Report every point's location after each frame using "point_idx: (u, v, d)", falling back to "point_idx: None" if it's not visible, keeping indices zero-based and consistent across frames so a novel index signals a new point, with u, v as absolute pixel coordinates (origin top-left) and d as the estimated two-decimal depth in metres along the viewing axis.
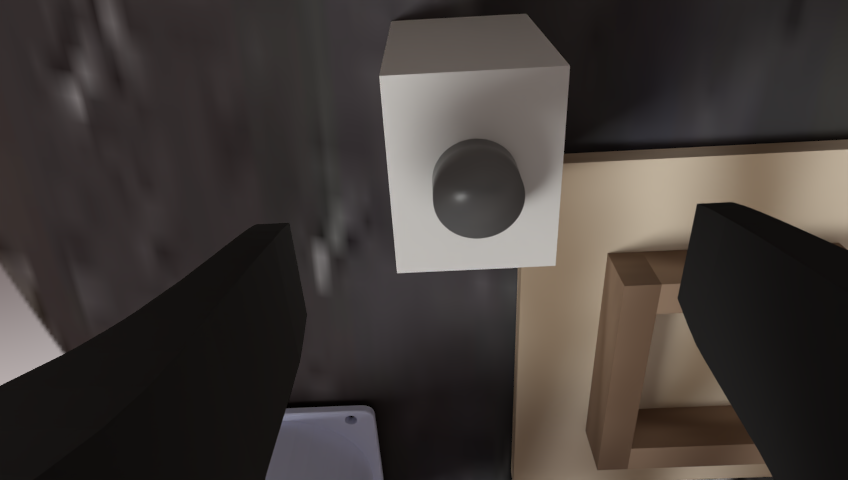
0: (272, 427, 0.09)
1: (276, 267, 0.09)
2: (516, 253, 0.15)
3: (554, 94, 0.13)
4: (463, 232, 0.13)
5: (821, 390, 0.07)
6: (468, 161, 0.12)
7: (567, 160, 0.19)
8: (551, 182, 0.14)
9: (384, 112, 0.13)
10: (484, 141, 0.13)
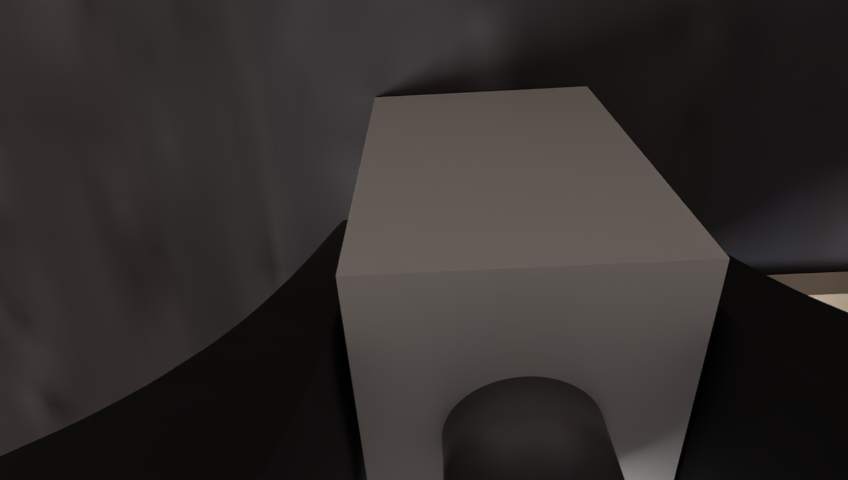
0: None
1: None
2: None
3: (689, 306, 0.06)
4: None
5: (695, 395, 0.07)
6: (518, 454, 0.06)
7: None
8: (664, 440, 0.07)
9: (348, 335, 0.07)
10: (544, 381, 0.07)
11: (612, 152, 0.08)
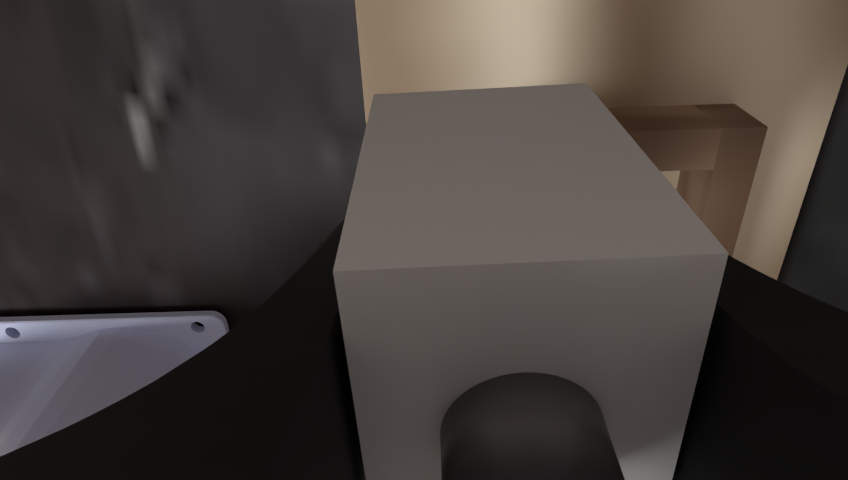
0: None
1: None
2: None
3: (688, 301, 0.06)
4: None
5: (695, 395, 0.07)
6: (516, 450, 0.06)
7: None
8: (663, 437, 0.07)
9: (346, 330, 0.06)
10: (543, 376, 0.07)
11: (611, 148, 0.08)
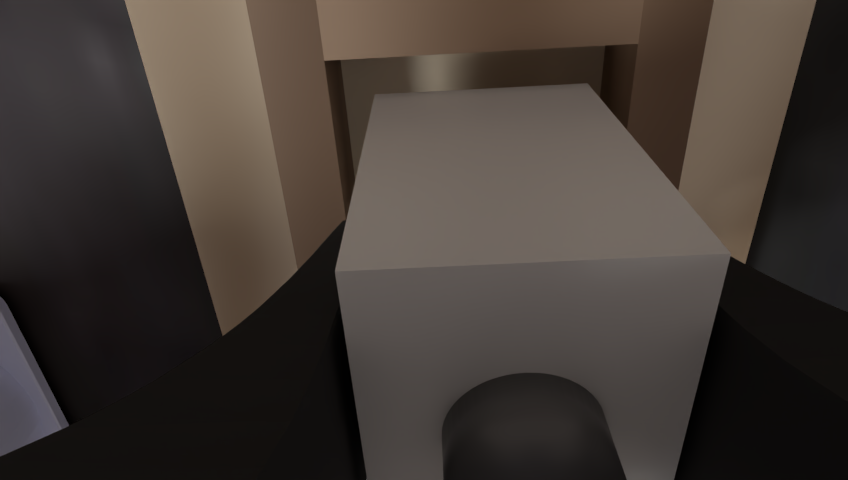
0: None
1: None
2: None
3: (691, 301, 0.06)
4: None
5: (695, 395, 0.07)
6: (518, 450, 0.06)
7: None
8: (665, 437, 0.07)
9: (348, 330, 0.06)
10: (545, 377, 0.07)
11: (613, 148, 0.08)
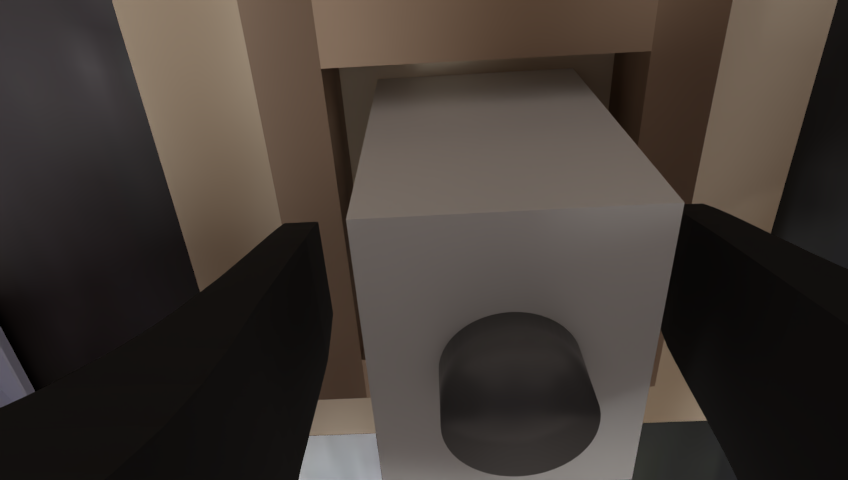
0: (304, 426, 0.09)
1: (308, 266, 0.09)
2: (571, 465, 0.09)
3: (652, 246, 0.07)
4: (492, 468, 0.08)
5: (779, 392, 0.07)
6: (503, 371, 0.07)
7: None
8: (635, 372, 0.08)
9: (357, 273, 0.07)
10: (528, 316, 0.08)
11: (591, 122, 0.09)
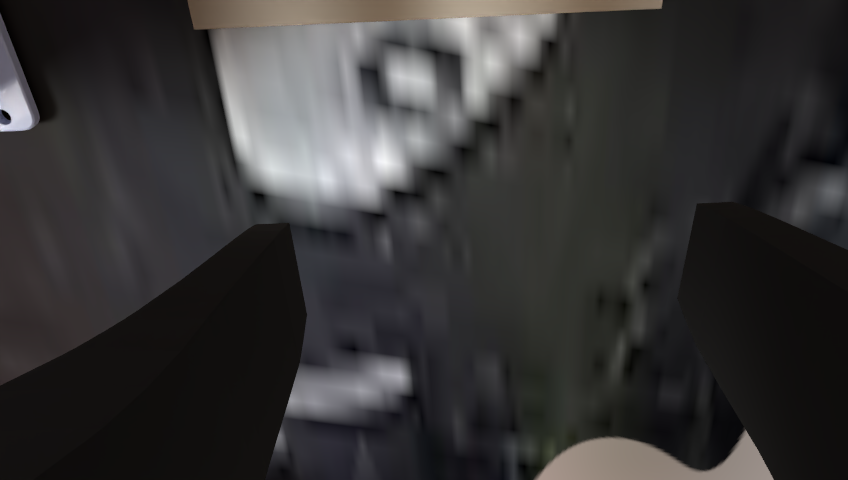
0: (272, 427, 0.09)
1: (276, 267, 0.09)
2: None
3: None
4: None
5: (821, 390, 0.07)
6: None
7: None
8: None
9: None
10: None
11: None
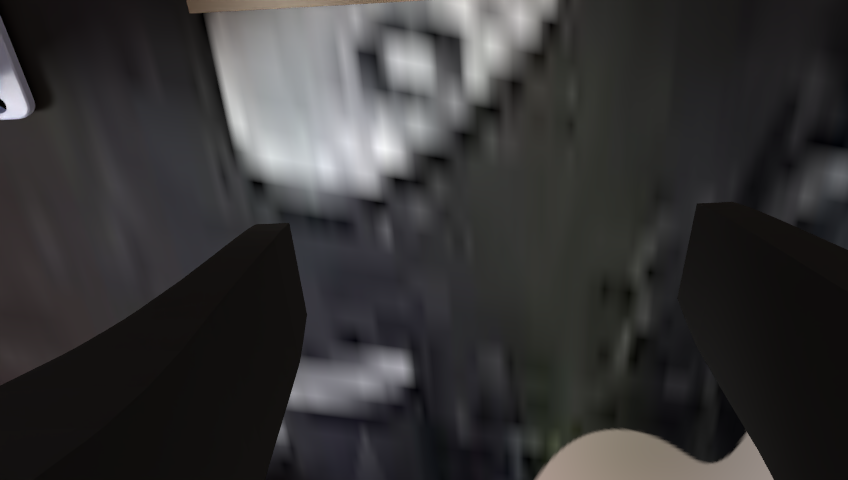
0: (272, 427, 0.09)
1: (276, 267, 0.09)
2: None
3: None
4: None
5: (821, 390, 0.07)
6: None
7: None
8: None
9: None
10: None
11: None
